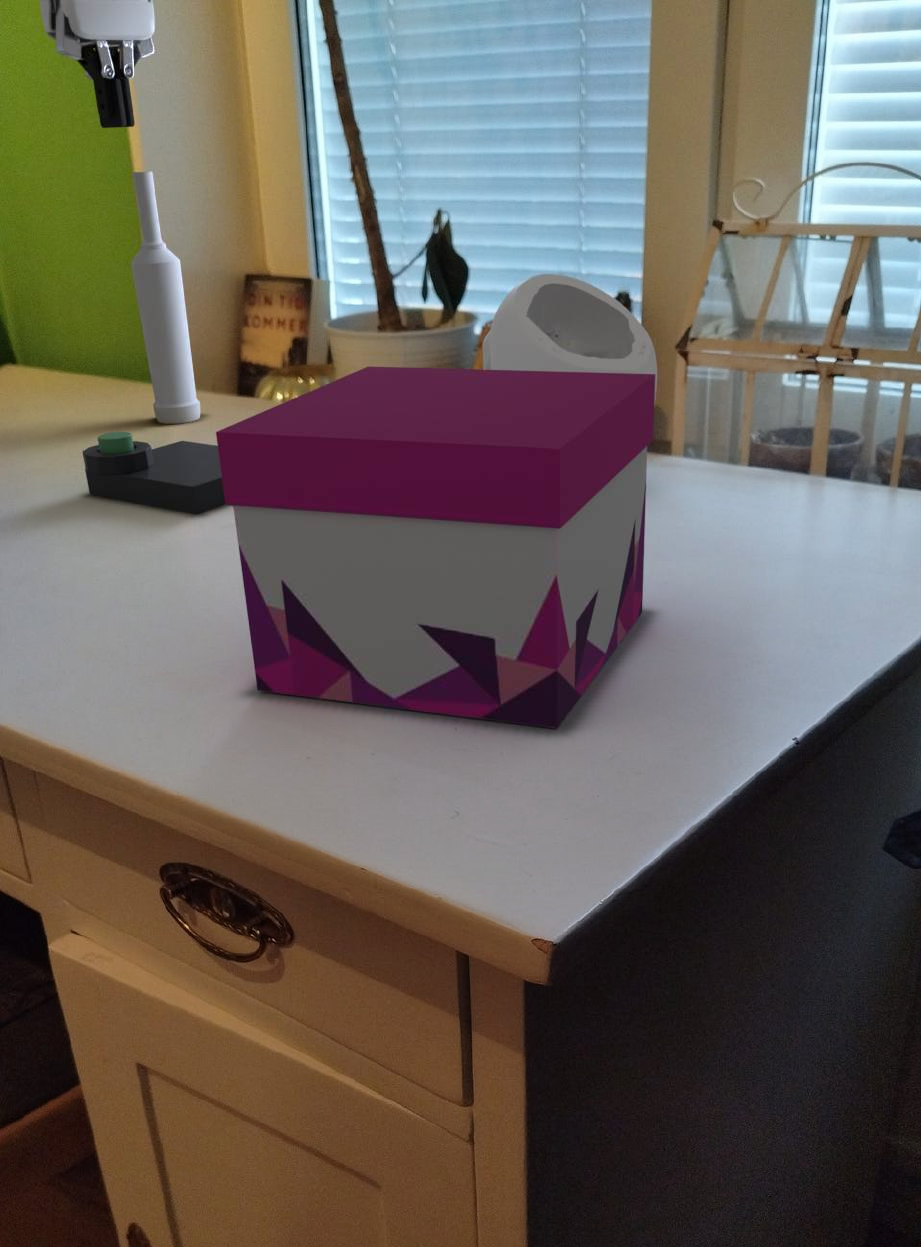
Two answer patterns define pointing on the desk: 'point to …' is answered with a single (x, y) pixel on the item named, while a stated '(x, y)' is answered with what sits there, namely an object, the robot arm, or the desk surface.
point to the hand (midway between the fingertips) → (117, 127)
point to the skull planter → (563, 305)
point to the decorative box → (443, 536)
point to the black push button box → (159, 476)
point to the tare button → (115, 442)
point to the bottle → (163, 314)
